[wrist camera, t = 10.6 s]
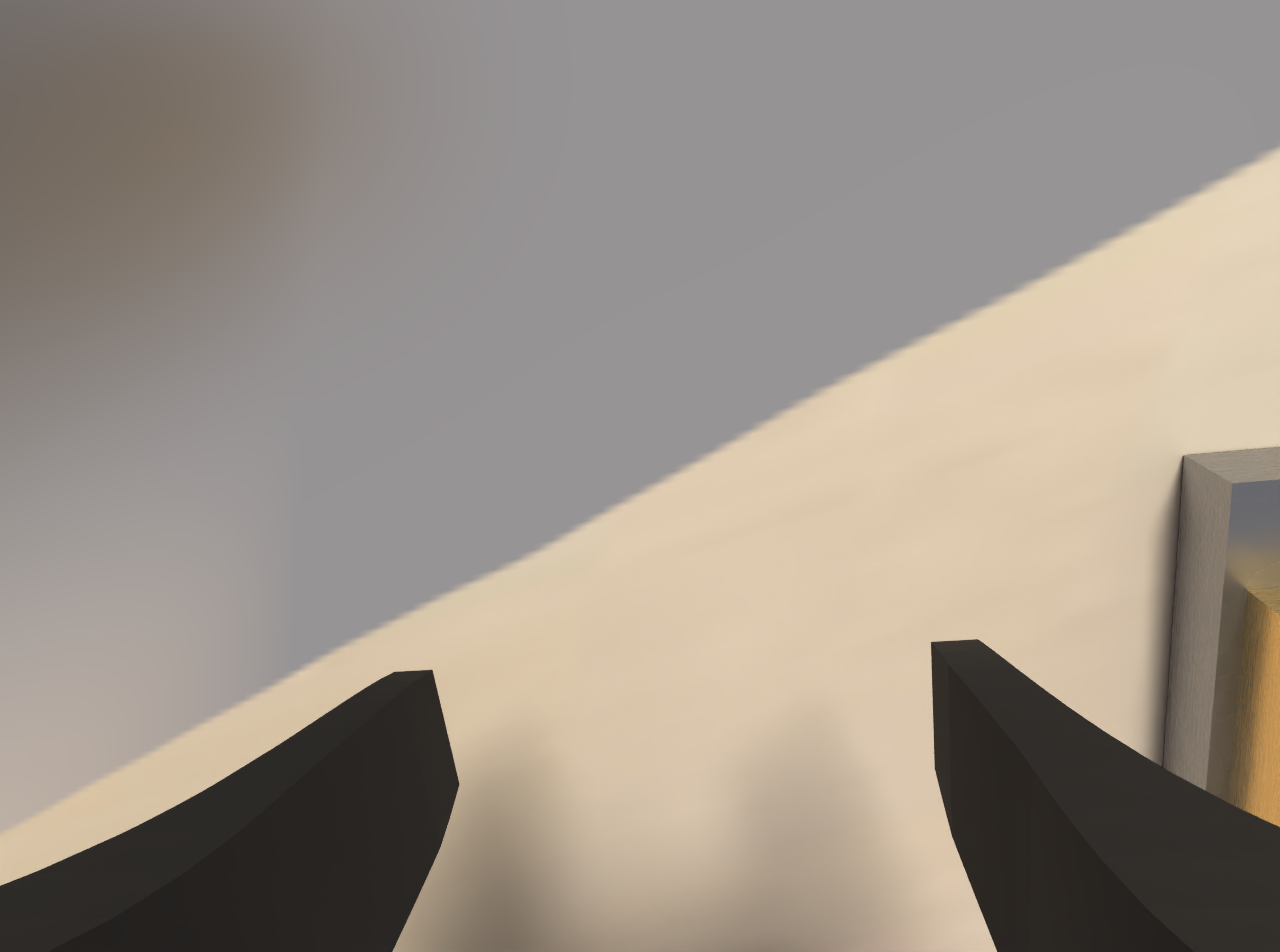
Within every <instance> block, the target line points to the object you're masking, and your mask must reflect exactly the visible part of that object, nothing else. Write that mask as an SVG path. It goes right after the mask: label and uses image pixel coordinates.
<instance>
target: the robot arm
mask: <svg viewBox="0 0 1280 952" xmlns="http://www.w3.org/2000/svg"><path fill="white" fill-rule="evenodd" d="M931 656H932V689H933V722H934V755H935V771H936V775H937V779H938V783H939V787H940V791H941V795H942V799H943V803H944V807H945V811H946V815H947V818H948V822H949V826H950V830H951V834H952V837H953V840H954V842H955V845H956V848H957V850H958V853H959V855H960V858H961V861H962V863H963V866H964V868H965V871H966V873H967V876H968V879H969V881H970V884H971V886H972V889H973V891H974V894H975V896H976V899H977V901H978V904H979V907H980V909H981V912H982V914H983V917H984V919H985V922H986V924H987V927H988V929H989V932H990V934H991V937H992V939H993V942H994V944H995V947H996V950H997V952H1280V827H1279V826H1277V825H1274V824H1272V823H1270V822H1268V821H1265V820H1263V819H1261V818H1259V817H1257V816H1255V815H1253V814H1251V813H1249V812H1247V811H1244V810H1242V809H1240V808H1238V807H1236V806H1234V805H1232V804H1230V803H1228V802H1226V801H1224V800H1222V799H1220V798H1218V797H1217V796H1215V795H1213V794H1211V793H1209V792H1207V791H1205V790H1203V789H1202V788H1200V787H1198V786H1196V785H1194V784H1192V783H1190V782H1188V781H1186V780H1185V779H1183V778H1181V777H1179V776H1177V775H1175V774H1173V773H1172V772H1170V771H1168V770H1166V769H1165V768H1163V767H1161V766H1159V765H1158V764H1156V763H1154V762H1152V761H1151V760H1149V759H1147V758H1146V757H1144V756H1143V755H1141V754H1139V753H1138V752H1136V751H1135V750H1133V749H1131V748H1130V747H1128V746H1127V745H1125V744H1123V743H1122V742H1120V741H1119V740H1117V739H1115V738H1114V737H1112V736H1111V735H1109V734H1107V733H1106V732H1104V731H1103V730H1101V729H1100V728H1098V727H1097V726H1095V725H1094V724H1092V723H1091V722H1089V721H1088V720H1086V719H1085V718H1083V717H1082V716H1081V715H1079V714H1078V713H1076V712H1075V711H1073V710H1072V709H1071V708H1069V707H1068V706H1066V705H1065V704H1064V703H1062V702H1061V701H1059V700H1058V699H1057V698H1055V697H1054V696H1052V695H1051V694H1050V693H1048V692H1047V691H1046V690H1044V689H1043V688H1042V687H1040V686H1039V685H1038V684H1036V683H1035V682H1034V681H1032V680H1031V679H1030V678H1028V677H1027V676H1026V675H1024V674H1023V673H1022V672H1020V671H1019V670H1018V669H1016V668H1015V667H1014V666H1013V665H1011V664H1010V663H1009V662H1007V661H1006V660H1005V659H1004V658H1002V657H1001V656H1000V655H998V654H997V653H996V652H994V651H993V650H992V649H990V648H989V647H988V646H986V645H985V644H984V643H982V642H981V641H980V640H978V639H977V640H959V641H941V642H931ZM458 787H459V781H458V776H457V772H456V768H455V764H454V759H453V755H452V751H451V747H450V743H449V738H448V734H447V730H446V726H445V721H444V717H443V713H442V709H441V704H440V700H439V696H438V692H437V688H436V683H435V679H434V675H433V671H432V670H422V671H404V672H393V673H392V674H390V675H388V676H386V677H384V678H382V679H380V680H378V681H376V682H375V683H373V684H371V685H370V686H368V687H366V688H365V689H363V690H362V691H360V692H359V693H357V694H355V695H354V696H352V697H351V698H349V699H348V700H346V701H345V702H343V703H342V704H340V705H339V706H337V707H336V708H334V709H333V710H331V711H329V712H328V713H326V714H325V715H323V716H322V717H320V718H319V719H317V720H316V721H314V722H313V723H311V724H310V725H308V726H307V727H305V728H304V729H302V730H301V731H299V732H298V733H296V734H295V735H293V736H292V737H290V738H289V739H287V740H286V741H284V742H282V743H281V744H279V745H278V746H276V747H275V748H273V749H271V750H270V751H268V752H266V753H265V754H263V755H262V756H260V757H258V758H257V759H255V760H253V761H252V762H250V763H249V764H247V765H245V766H244V767H242V768H240V769H239V770H237V771H236V772H234V773H232V774H231V775H229V776H227V777H226V778H224V779H223V780H221V781H219V782H218V783H216V784H214V785H213V786H211V787H209V788H207V789H206V790H204V791H202V792H200V793H199V794H197V795H195V796H193V797H191V798H190V799H188V800H186V801H184V802H182V803H181V804H179V805H177V806H175V807H173V808H171V809H169V810H167V811H165V812H163V813H161V814H159V815H158V816H156V817H154V818H152V819H150V820H148V821H146V822H144V823H142V824H140V825H138V826H136V827H134V828H132V829H130V830H128V831H126V832H124V833H122V834H120V835H117V836H115V837H113V838H111V839H109V840H106V841H104V842H102V843H100V844H97V845H95V846H93V847H91V848H89V849H86V850H84V851H82V852H80V853H77V854H75V855H73V856H71V857H68V858H66V859H64V860H62V861H60V862H57V863H55V864H53V865H51V866H48V867H46V868H44V869H41V870H39V871H37V872H34V873H32V874H29V875H27V876H24V877H22V878H19V879H17V880H14V881H12V882H9V883H7V884H4V885H1V886H0V952H392V951H393V949H394V947H395V945H396V943H397V940H398V938H399V936H400V934H401V932H402V930H403V928H404V926H405V923H406V921H407V919H408V917H409V915H410V913H411V911H412V908H413V906H414V904H415V902H416V900H417V898H418V896H419V893H420V891H421V889H422V887H423V885H424V882H425V880H426V878H427V876H428V874H429V871H430V869H431V867H432V865H433V863H434V860H435V858H436V856H437V854H438V851H439V849H440V847H441V844H442V840H443V837H444V834H445V831H446V828H447V825H448V822H449V819H450V815H451V812H452V808H453V805H454V801H455V798H456V794H457V791H458Z"/></svg>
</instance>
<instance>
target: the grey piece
mask: <svg viewBox="0 0 1280 952" xmlns="http://www.w3.org/2000/svg"><path fill="white" fill-rule="evenodd" d="M1163 768H1165V769H1166V770H1168V771H1170V772H1172V773H1173V774H1175V775H1177V776H1179V777H1181V778H1183V779H1185V780H1186V781H1188V782H1190V783H1192V784H1194V785H1196V786H1198V787H1200V788H1202V789H1203V790H1205V791H1207V792H1209V793H1211V794H1213V795H1215V796H1217V797H1218V798H1220V799H1222V800H1224V801H1226V802H1228V803H1230V804H1232V805H1234V806H1236V807H1238V808H1240V809H1242V810H1244V811H1247V812H1249V813H1251V814H1253V815H1255V816H1257V817H1259V818H1261V819H1263V820H1265V821H1268V822H1270V823H1272V824H1274V825H1277V826H1279V827H1280V447H1274V448H1262V449H1250V450H1238V451H1227V452H1215V453H1203V454H1191V455H1184V463H1183V478H1182V492H1181V507H1180V522H1179V537H1178V551H1177V566H1176V581H1175V596H1174V610H1173V625H1172V640H1171V655H1170V669H1169V684H1168V699H1167V714H1166V728H1165V743H1164V758H1163Z"/></svg>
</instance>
